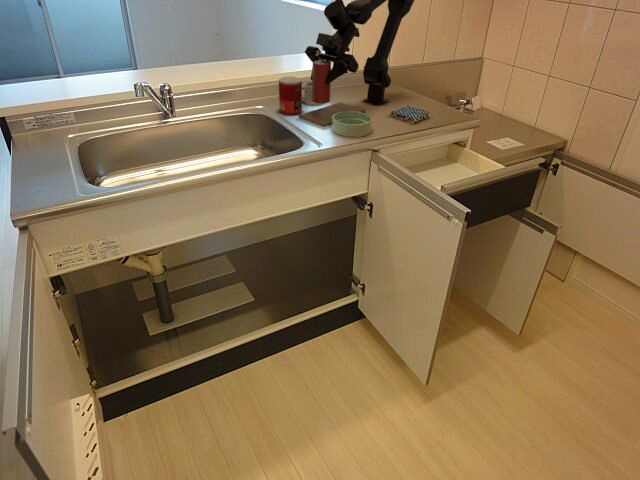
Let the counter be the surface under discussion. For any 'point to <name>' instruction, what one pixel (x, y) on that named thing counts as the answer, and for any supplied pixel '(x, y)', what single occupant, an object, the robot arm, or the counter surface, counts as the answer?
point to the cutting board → (327, 114)
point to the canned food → (290, 95)
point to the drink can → (321, 81)
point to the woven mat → (409, 114)
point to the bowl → (351, 124)
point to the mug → (308, 94)
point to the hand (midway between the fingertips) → (318, 82)
